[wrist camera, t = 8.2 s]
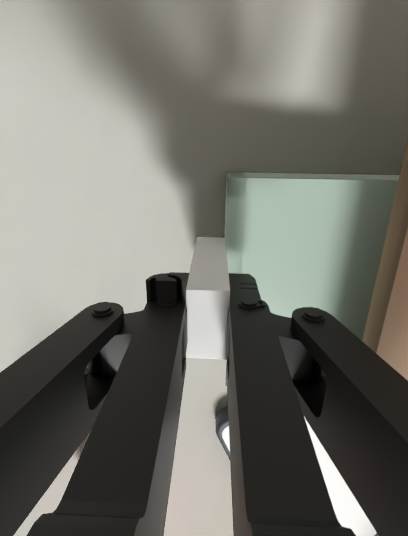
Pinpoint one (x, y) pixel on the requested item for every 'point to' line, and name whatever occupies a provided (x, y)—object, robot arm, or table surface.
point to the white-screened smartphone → (336, 486)
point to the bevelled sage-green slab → (310, 239)
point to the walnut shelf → (392, 286)
